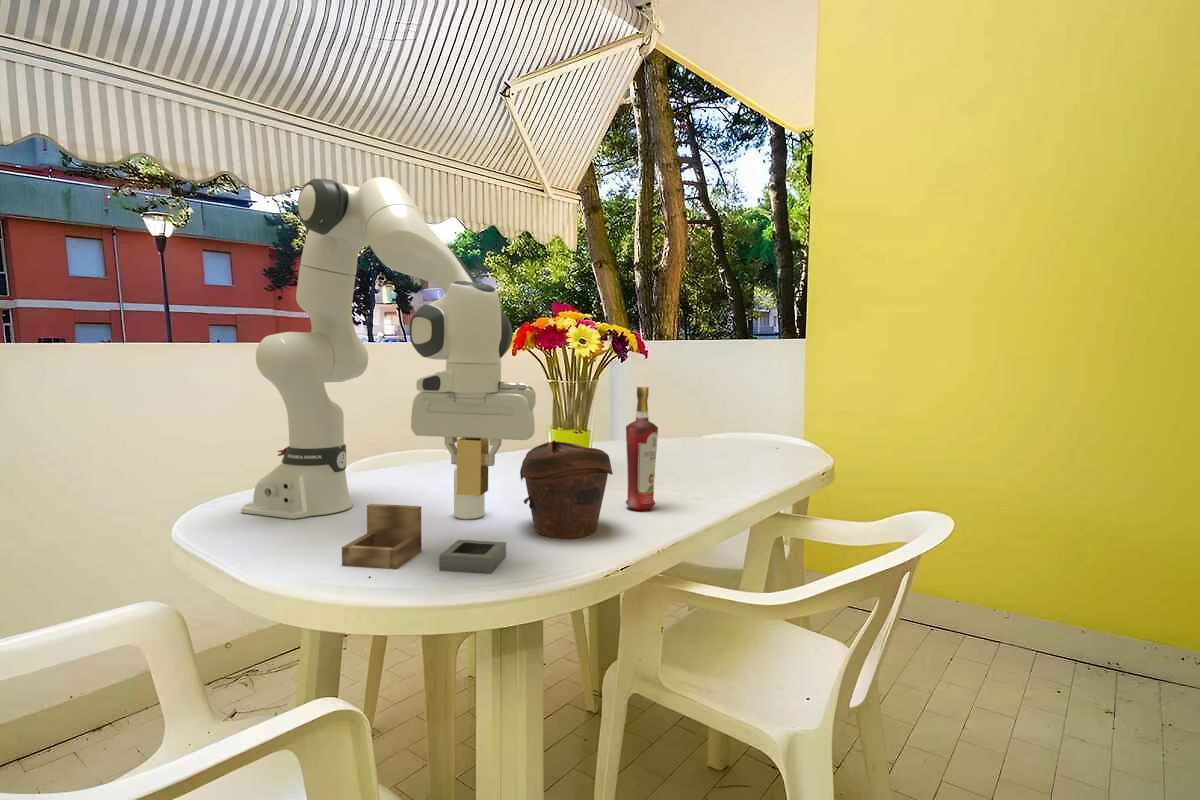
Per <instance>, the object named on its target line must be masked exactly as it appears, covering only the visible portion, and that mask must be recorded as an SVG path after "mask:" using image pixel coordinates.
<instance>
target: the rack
mask: <svg viewBox="0 0 1200 800" xmlns="http://www.w3.org/2000/svg"><path fill="white" fill-rule="evenodd" d="M420 552H422V506H421V505H408V504H406V505H404V504H387V503H386V504H384V503H383V504H382V503H368V504H367V505H366V533H365V534H363V535H362V536H359V537H358V538H355V540H353V541H351V542H349V543H347V544H345V545H343V546H342V547H341V566H349V567H363V568H379V569H381V568H382V569H395V570H396V569H398V568H400V567H402V566H403V565H404V564H406V563H407V562H408V561H409V560H411V559H412V558H414V557H415V556H416V555H418V554H419V553H420Z"/></svg>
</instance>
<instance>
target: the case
mask: <svg viewBox="0 0 1200 800" xmlns="http://www.w3.org/2000/svg"><path fill="white" fill-rule="evenodd" d="M519 475H520V480H521V481H523V479H525V485H526V486H525V487H526V491H527V496H528V497H526V498H525V499H524V500H523V504H525V505H527V504H528V502H529V504H528V506H529V509H530V513H531V517H532V523H533V527H534V529H535V531H536V532H537V533H538V534H541V535H543V536H545V537H549V538H557V539H574V538H582V537H586V536H589V535H591V534H594V533H595V532H596V531H597V528H598V524H599V519H600V516H601V515H600V514H601V510H602V505H603V500H604V495H605V491H606V488H607V487H606V486H607V481H608V477H609V476H608V475H611V476H612V475H614V473H613V469H612V465H611V459H610V455H609V454H608V453H607V452H606V451H604V450H603V449H599V448H594V447H585V446H581V445H579V444H576V443H570V442H563V441H556V440H552V441H551V442H550V441H549V442H545V443H542V444H539V445H537V446H535V447H533V448H531V449H530V450H529V451H528V452H527V453H526V455H525V457H524V458H523V460H522V464H521V467H520V471H519Z"/></svg>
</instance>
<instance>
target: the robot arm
mask: <svg viewBox="0 0 1200 800" xmlns="http://www.w3.org/2000/svg"><path fill="white" fill-rule="evenodd" d="M297 213H298V216H299V219H300V221H301V224H302V225H303V226H304V228H306V229H308V231H307V235H306V237H305V241H304V244H303V248H302V253H301V257H300V265H299V270H298V279H297V283H296V284H297V286H296V292H295V299H296V300H295V301H296V303H297V304H298V305H297V306H298V307H299V308H301V310H302V311H304V312H305V313H307V315H308V317H309V320H310V323H311V325H310V327H311V331H310V332H305V331H303V332H302V331H286V332H285V331H284V332H279V333H275V334H270V335H269V334H268V335H267V336H264V337H263V338H262V339H261V341H260V342H259V344H258V346H257V348H256V352H255V363H256V364H255V365H256V366H257V369H258V371H259V372H260V374H261V375H262V376H263V377H264V378H265V379H267V380H268V382H270V383H271V384H272V385H273V386H274V387H275V388H276V389H277V392H278V393H279V394H280V396H281V398H282V400H283V403H284V405H285V409H286V413H287V422H288V425H287V426H288V446H287V447H285V448H284V449H280V450H277V451H276V452H277V453H278V454H277V457H280V456H283V457H282V460H281V463H280V464H279V465H277V466H276V467H275V468H274V469H272V470H271V471H270V472H268V473H267V474H266V475H265V476H263V477H262V478H261V479H259V480H258V482H257V483H256V484H255V487H254V491H253V499H252V501H250V502H248V503H246V504H245V505H243V506H242V507H241V510H240V511H241V513H243V514H250V515H251V514H252V515H258V516H267V517H276V518H283V519H300V518H302V519H303V518H307V517H312V516H315V517H316V516H323V515H330V514H334V513H340V512H343V511H346V510H348V509H351V508H352V507H353V502H352V498H351V495H350V492H349V487H348V481H347V474H346V468H347V444H345V439H344V438H345V435H344V434H345V433H344V431H345V430H344V427H345V426H344V425H345V423H344V422H345V421H344V420H345V419H344V411H343V409H342V407H341V406H340V405H339V404H338V403H336V402H335V401H332V399H331V398H330V396H329V395H328V393H327V390H326V385H325V383H342V382H346V381H349V380H353V379H355V378H356V379H357V378H359V377H361V376H362V375H363V374H364V373H365V371H366V369H367V368H368V364H369V363H368V362H369V353H368V350H367V347H366V346H365V344H364V343H363V342H362V341H361V339H360V338H359V336H358V335H357V332H356V329H355V325H354V321H353V311H352V309H353V299H354V289H355V283H356V275H357V269H358V257H359V253H360V252H361V250H362V249H363V248H364V247H367V246H369V247H370V249H371V250H372V251H373V254H374V255H375V257H377V259H378V260H379V261H380V262H381V263H382V264H383V265H384V266H386V267H387V268H388V269H391V270H392V271H395V272H398V273H400V274H403V275H407V276H411V277H413V278H417V279H420V280H422V281H425V282H427V283H430V284H433V285H435V286H436V287H438V288H440V289H441V290H442V291H443V292H444V293H445V294H444V295H442V296H441V297H439V298H437V300H434V301H432V302H430V303H427V304H422V305H421V306H420V307H419V308H418V309H417V310H416V311H415V312H414V313H413V315H412V317H411V319H410V322H409V338H410V343H411V345H412V347H413V349H414V350H415V351H416V352H417V353H418V354H419V355H420V356H421V357H423V358H426V359H431V360H444V361H445V363H446V364H445V370H443V371H439V372H435V373H433V374H429V375H426V376H423V377H420V378H417V380H416V381H415V383H416V385H415V386H416V390H417V391H418V392H419V393H417V394H416V395H415V397H414V398H413V401H412V405H411V406H412V407H411V415H410V416H411V417H410V427H411V430H412V432H413V434H414V435H415V436H418V437H419V436H420V437H439V438H440V437H442V438H443V437H444V445H445V447H446V449H447V451H448V452H449V454H450V463H451V465H456V464H457V445H456V444H455V443H457V440H458V438H484V439H489V445H490V446H492V447H491V449H490V451H489V454H485V455H483V460H484V461H483V466H488V467H494V466H495V460H496V459H495V456H496V455H497V452H498V451H499V449H500V447H501V446H502V445H503V444H502V441H503V440H509V441H510V440H513V441H514V440H515V441H527V440H529V439H531V438H532V437H533V436H534V435H535V432H536V431H535V430H536V427H535V426H536V425H535V423H536V422H535V414H534V408H535V407H536V398H537V397H536V396H537V395H536V392H535V389H534V388H533V387H532V386H530V385H529V384H528V383H526V382H509V381H505V382H504V381H502V357H504V355H505V354H507V352H508V350H509V349H510V347H511V345H512V342H513V336H514V335H513V328H512V323H511V322H510V320H509V318H508V316H507V314H506V313H505V312H504V310H502V307H501V302H500V297H499V293H498V290H497V289H496V288H495V287H493V286H491V285H489V284H486V283H481V282H480V283H479V282H478V281H477V280H476V278H475V277H474V276H473V274H472V273H471V271H470V270H469V269H468V267H467V266H466V265H465V263H464V262H463V260H462V259H461V258H460V257H459V255H458V254H457V253H456V252H454V251H453V250H452V249H451V248H450V247H449V246H447V244H446V243H445V242H444V241H442V240H441V239H440V238H439V237H438V236H437V234H436V233H435V232H434V231H433V230H432V229H431V227H430V226H429V225H428V223H427V222H426V220H425V219H424V216H423V215H422V214H421V212H420V210H419V208H418V207H417V205H416V203H415V201H414V199H412V197H411V196H410V194H409V193H408V192H407V191H406V190H405V188H404V187H403V186H402V185H401V183H399V182H398V181H396V180H394V179H392V178H389V177H387V176H379V177H378V176H376V177H373V178H372V177H371V178H370V179H368V180H366V181H365V182H364V183H363V184H362V185H361V186H359V187H358V186H356V185H355V186H354V185H352V184H351V185H350V184H346V183H341V182H337V181H336V180H333V179H328V178H313V179H311V180H309V181H308V182H306V183H305V184H304V185H303V187H302V188H301V189H300V192H299V195H298V200H297Z"/></svg>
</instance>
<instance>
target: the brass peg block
mask: <svg viewBox="0 0 1200 800" xmlns="http://www.w3.org/2000/svg"><path fill="white" fill-rule="evenodd" d="M489 445H490V439H484V438H461V437H459V439H458V438H457V442H456V448H457V495H475V496H481V495H482V494H484V493H485V494H486V493H487V492H488V491H489V466H483V461H484V460H483V455H485V454H489V452H490V451H489Z"/></svg>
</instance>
